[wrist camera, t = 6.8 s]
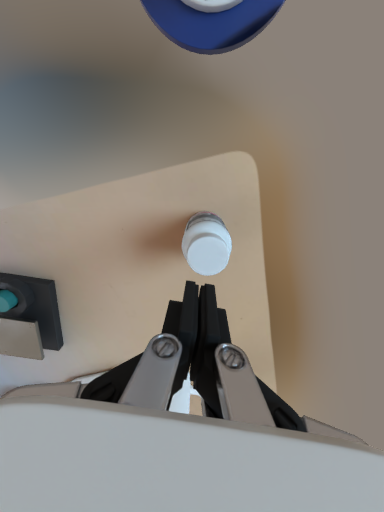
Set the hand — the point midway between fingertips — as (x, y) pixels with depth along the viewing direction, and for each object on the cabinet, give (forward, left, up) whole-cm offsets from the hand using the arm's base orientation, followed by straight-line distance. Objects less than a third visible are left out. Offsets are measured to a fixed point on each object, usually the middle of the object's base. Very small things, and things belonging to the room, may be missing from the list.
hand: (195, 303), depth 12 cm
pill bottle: (0, +1, -17) cm, 17 cm away
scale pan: (+21, -27, -14) cm, 37 cm away
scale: (+19, -27, -17) cm, 37 cm away
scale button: (+14, -27, -14) cm, 34 cm away
